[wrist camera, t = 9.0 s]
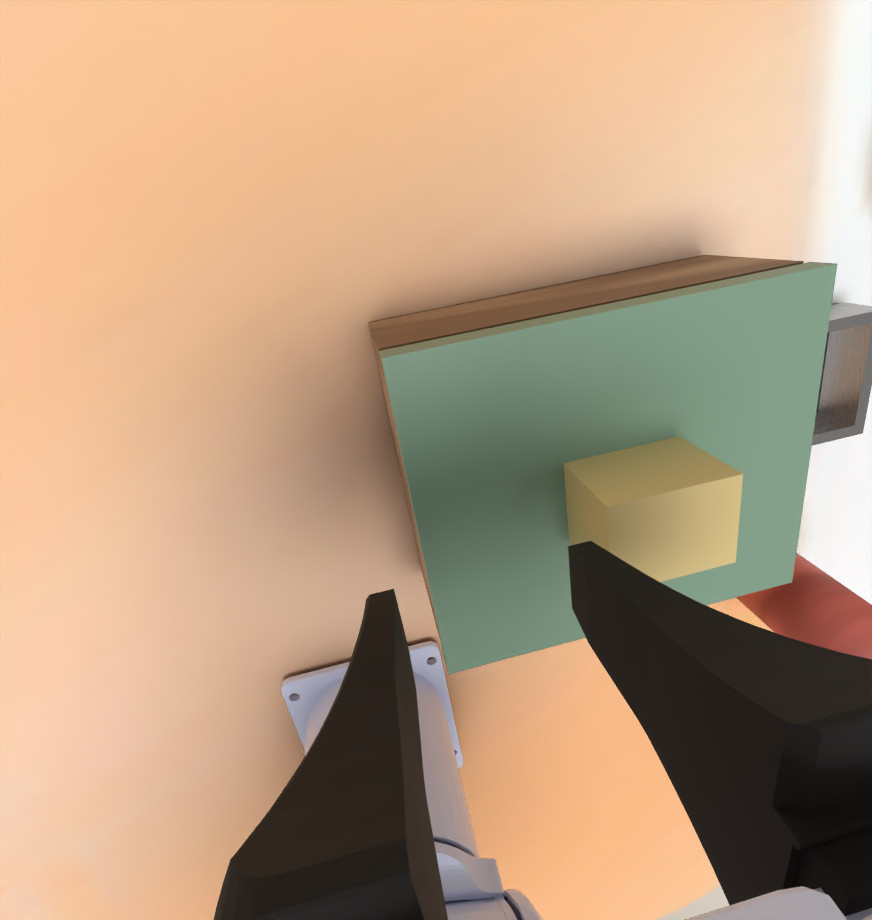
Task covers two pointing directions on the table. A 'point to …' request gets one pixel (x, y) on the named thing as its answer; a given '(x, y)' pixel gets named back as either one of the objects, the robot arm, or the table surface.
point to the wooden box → (550, 312)
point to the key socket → (845, 374)
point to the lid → (611, 451)
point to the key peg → (815, 611)
